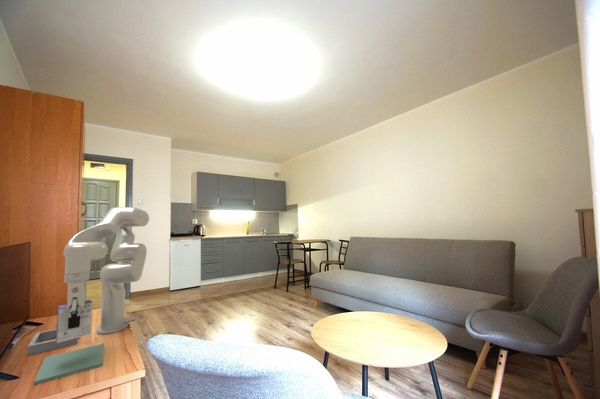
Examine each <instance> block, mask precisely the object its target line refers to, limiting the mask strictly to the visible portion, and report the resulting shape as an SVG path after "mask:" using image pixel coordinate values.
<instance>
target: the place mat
mask: <svg viewBox="0 0 600 399" xmlns="http://www.w3.org/2000/svg"><path fill="white" fill-rule="evenodd" d="M104 348H105V343H99V344H95V345H91V346H87V347H82V348H79V349H74V350H70V351H65V352H62V353H57V354H54V355H53V354H52V355H49V356H46V357H44V359H43V361H42V364H41V366H40V368H39V370H38V373H37V374H36V376H35V378H34V380H33V386H35V385H38V384H43V383H46V382H49V381H48V380H50V381H53V380H56V378H57V379H61V378H63V376H64V377H67V376H70V374H71V375H74V374H73V373H75V374H77V373H76V372H78V373H81V372H80V371H82V372H85V371H89V370H92V369H96V368H99V367H102V366H103V363H104ZM84 370H85V371H84ZM66 375H67V376H66ZM52 379H53V380H52ZM45 381H46V382H45Z"/></svg>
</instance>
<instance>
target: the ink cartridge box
mask: <svg viewBox="0 0 600 399" xmlns="http://www.w3.org/2000/svg"><path fill="white" fill-rule="evenodd" d="M77 299H78V298H77ZM69 307H70V306H69ZM76 308H78V306H76ZM77 311H78V310H77ZM92 311H93V302H92V301H91V299H86V302H85V306H84V307H83V308H82V307H80V312H79V316H80V326H79V327H76V328H71V329H68V319H69V314H70V310H68V309H67V304H63V305H58V306H57V317H56V329H57V335H56V338H55V339H56V342H57V343H60V342H63V341H67V340H71V339H74V338H78V337H79V338H81V337H84V336H87V335H88V336H89V335H91V334H92V314H93V312H92ZM79 338H78V339H79Z"/></svg>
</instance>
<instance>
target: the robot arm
mask: <svg viewBox="0 0 600 399" xmlns="http://www.w3.org/2000/svg"><path fill="white" fill-rule="evenodd" d="M149 222H150V214H148V212H147V211H145V210H143V209H140V208H138V207H134V206H133V207H130V206H129V207H128V206H127V207H124V206H122V207H121V206H120V207H119V206H118V207H117V206H116V207H111V208H110V209H108V211H106V213H105V214H104V215H103V217H102V218H101V219H100V220H99V222H97V224H94V225H92V226H90V227H88V228H85V229H84V230H82V231H80V232H78V233H76V234H74V236H72V237H71V239H69V241H68V242H67V243H66V245H65V247H64V249H63V252H62V253H63V256H64V259H65V261H64V274H63V276H64V277H63V278H64V280H63V283H65V284H67V296H66V297H67V301H66V302H67V303H66V305H67V309H68V310H70V314H69V319H68V329H71V328H76V327H79V326H80V316H79V312H80V307H82V308H83V307H84V306H85V302H86V300H87V286H88V285H87V281H89V280H90V279H91V262H92V261H99V260H101V259H103V258H105V257H106V256H107V255H108V252H109V247H108V245H107V244H106V243H105V242H102V240H106V239H109V238H112V237H114V236H115V238H114V242H113V244H112V248H111V250H110V260H111V261H112V262H114V263H108V264H105V265H104V266H103V267H102V268H100V272H99V278H100V284H101V307H100V308H101V309H100V326H98V327H97V328H96V330H95V332H96V334H99V335H108V334H109V335H110V334H114V333H117V332H120V331H123V330H124V329H126V328H128V326H129V323H130V322H135V321H136V316H128V317H127V316H126V314H125V312H126V311H125V310H126V289H125V286H124V285H123V284H124V283H135V282H139V280H141V278H142V275H143V271H144V267H145V262H146V258H147V254H148V252H147V249H148V248H147V247H146V246H147V245H145V244H144V243H134V242H135V238H136V236H135V233H134V232H133V230H131V229H130V228H129V227H146V226H147V225H148V224H149ZM122 283H123V284H122ZM77 298H78V299H77ZM69 306H70V307H69ZM76 306H78V308H76ZM77 310H78V311H77Z"/></svg>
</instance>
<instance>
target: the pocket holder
mask: <svg viewBox="0 0 600 399" xmlns="http://www.w3.org/2000/svg"><path fill="white" fill-rule="evenodd" d="M56 335H57V328H54V329H48V330H43V331H39V332H35V334H34V335H33V337H32V338H31V340H30V342H29V344H28V345H27V347H26V348H27V349H26V351H27V353H26V356H32V355H36V354H39V353H43V352H48V351H53V350H54V351H55V350H58V349H62V348H66V347H69V346H70V347H71V346H74V345H77V344H78V341H79V338H80V337H78V338H74V339H71V340H67V341H63V342H60V343H57V342H56ZM50 339H51V340H50ZM45 340H46V341H45ZM41 341H42V342H41Z"/></svg>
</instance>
